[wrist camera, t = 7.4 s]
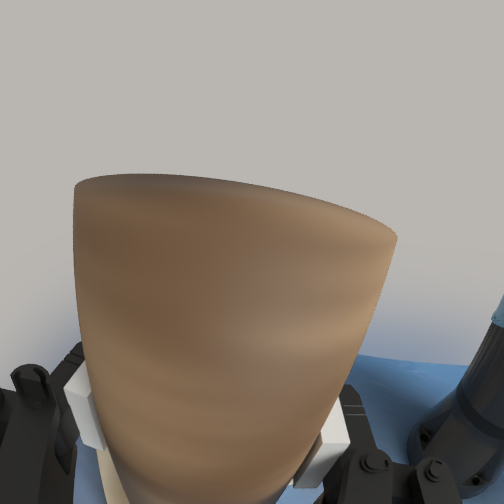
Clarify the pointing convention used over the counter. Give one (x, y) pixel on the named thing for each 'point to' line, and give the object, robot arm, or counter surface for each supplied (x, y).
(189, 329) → the walnut peg
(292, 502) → the counter surface
